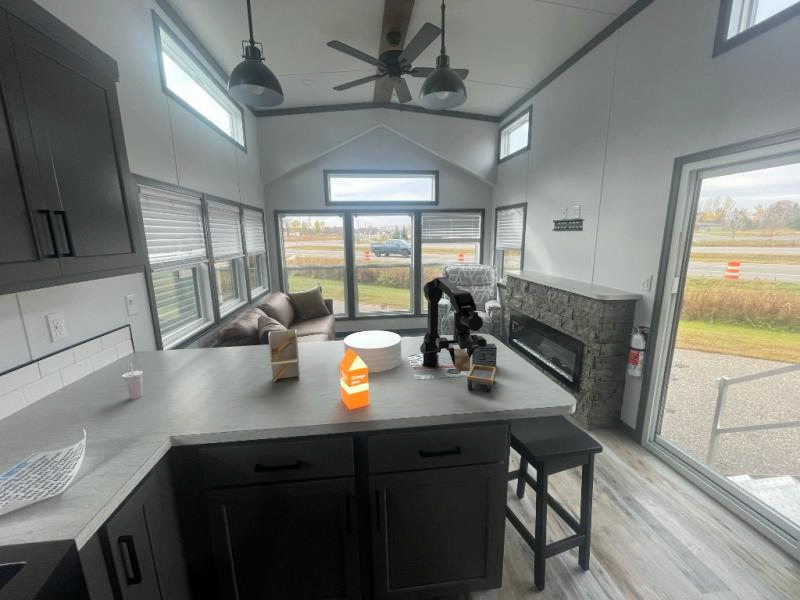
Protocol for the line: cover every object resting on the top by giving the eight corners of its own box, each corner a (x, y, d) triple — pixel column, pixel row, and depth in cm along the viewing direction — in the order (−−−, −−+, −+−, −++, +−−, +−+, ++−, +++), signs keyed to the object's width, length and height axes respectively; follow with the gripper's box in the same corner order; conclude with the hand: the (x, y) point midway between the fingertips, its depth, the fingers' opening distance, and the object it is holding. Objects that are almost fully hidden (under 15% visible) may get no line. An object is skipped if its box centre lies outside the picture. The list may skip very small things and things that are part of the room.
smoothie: (130, 402, 124) (123, 367, 121) (123, 398, 127) (116, 364, 124) (149, 395, 129) (143, 362, 126) (142, 391, 132) (136, 358, 130)
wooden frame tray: (466, 390, 131) (467, 376, 129) (472, 376, 143) (473, 363, 142) (491, 394, 127) (492, 380, 126) (495, 379, 140) (496, 367, 139)
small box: (493, 363, 157) (494, 343, 155) (496, 369, 150) (497, 347, 148) (471, 363, 158) (472, 342, 156) (473, 368, 151) (473, 347, 149)
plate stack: (400, 350, 177) (400, 329, 174) (402, 371, 149) (402, 347, 147) (348, 351, 176) (347, 331, 173) (341, 373, 148) (339, 349, 146)
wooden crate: (272, 379, 143) (267, 323, 138) (300, 376, 146) (296, 321, 141) (271, 387, 136) (265, 328, 131) (300, 383, 139) (295, 325, 134)
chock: (456, 371, 123) (456, 358, 122) (451, 360, 134) (452, 349, 133) (470, 370, 123) (470, 358, 122) (464, 360, 134) (464, 348, 133)
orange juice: (349, 409, 117) (346, 356, 113) (341, 399, 125) (338, 349, 121) (369, 404, 121) (367, 352, 117) (360, 394, 128) (358, 345, 124)
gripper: (442, 331, 116) (441, 372, 119) (492, 329, 118) (491, 369, 121) (435, 323, 127) (435, 361, 130) (482, 321, 129) (481, 359, 132)
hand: (460, 363), depth 128 cm, fingers closed on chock, 5 cm apart
